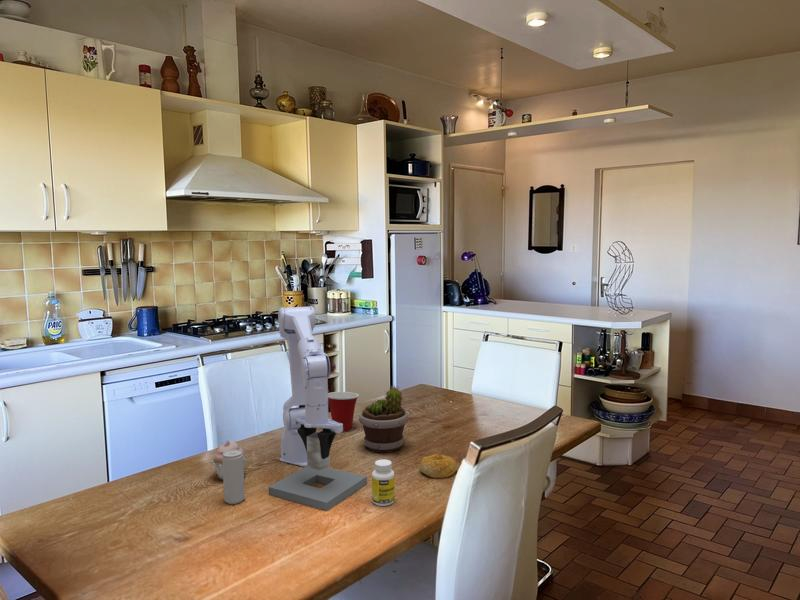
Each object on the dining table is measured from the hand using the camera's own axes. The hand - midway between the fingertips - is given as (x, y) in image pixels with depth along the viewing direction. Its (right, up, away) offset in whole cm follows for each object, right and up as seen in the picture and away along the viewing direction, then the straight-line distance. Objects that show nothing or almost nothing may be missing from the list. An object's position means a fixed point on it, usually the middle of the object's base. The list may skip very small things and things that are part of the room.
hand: (318, 456), depth 144 cm
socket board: (0, -9, +1) cm, 9 cm away
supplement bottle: (+17, -9, -6) cm, 20 cm away
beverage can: (-20, -10, -5) cm, 22 cm away
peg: (0, -3, 0) cm, 3 cm away
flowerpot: (+16, -6, +30) cm, 34 cm away
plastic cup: (+2, -4, +47) cm, 47 cm away
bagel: (+31, -8, +11) cm, 34 cm away
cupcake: (-25, -8, +10) cm, 28 cm away
